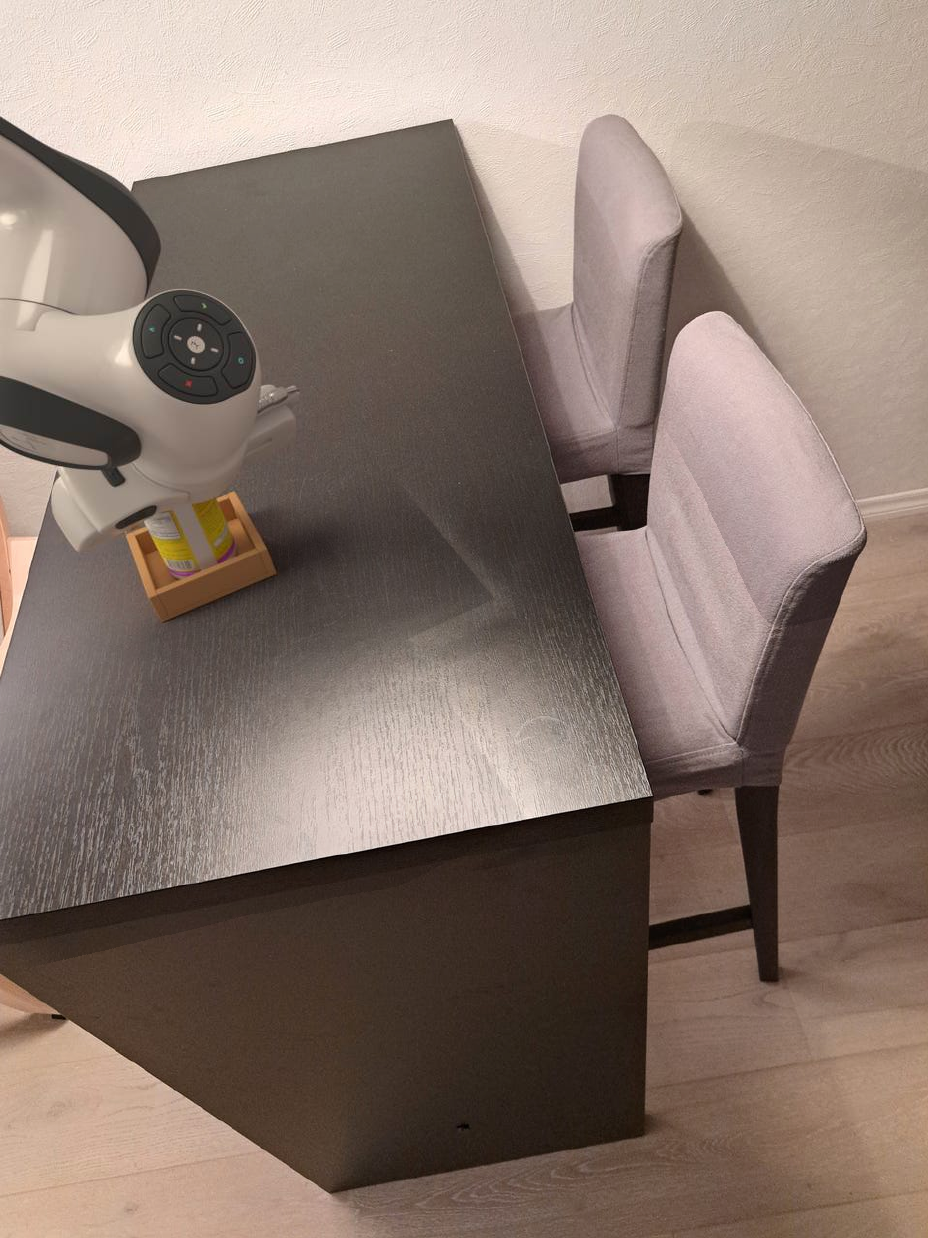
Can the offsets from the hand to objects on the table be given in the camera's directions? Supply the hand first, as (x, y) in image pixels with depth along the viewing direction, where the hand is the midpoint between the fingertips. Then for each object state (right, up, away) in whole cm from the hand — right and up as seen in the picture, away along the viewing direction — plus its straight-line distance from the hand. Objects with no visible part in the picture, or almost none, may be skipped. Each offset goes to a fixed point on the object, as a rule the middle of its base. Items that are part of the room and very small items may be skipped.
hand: (177, 496), depth 82 cm
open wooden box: (0, -6, +7) cm, 9 cm away
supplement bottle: (0, -5, +7) cm, 9 cm away
